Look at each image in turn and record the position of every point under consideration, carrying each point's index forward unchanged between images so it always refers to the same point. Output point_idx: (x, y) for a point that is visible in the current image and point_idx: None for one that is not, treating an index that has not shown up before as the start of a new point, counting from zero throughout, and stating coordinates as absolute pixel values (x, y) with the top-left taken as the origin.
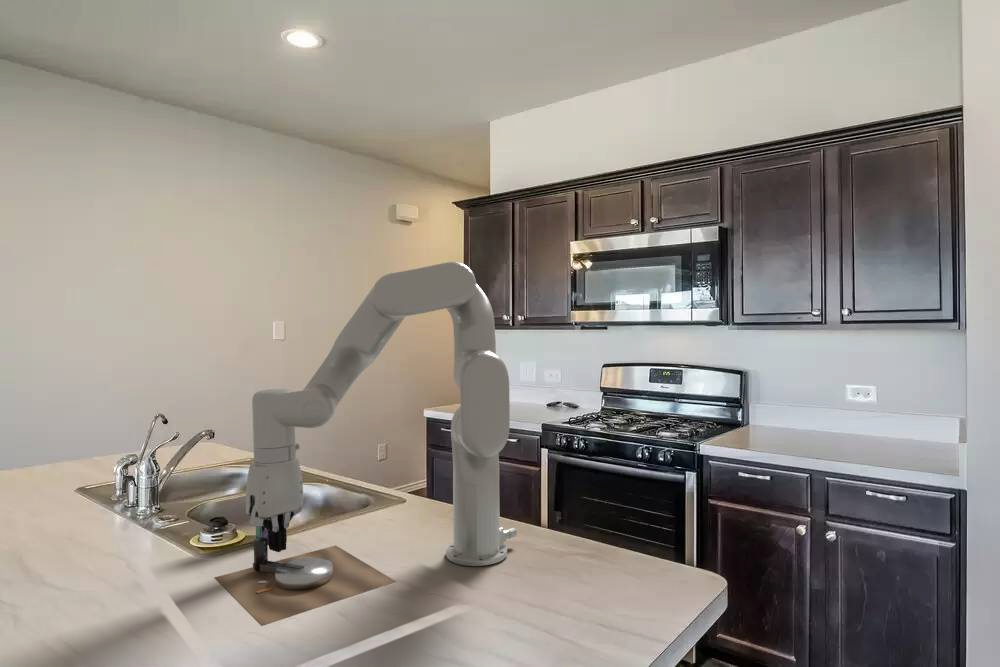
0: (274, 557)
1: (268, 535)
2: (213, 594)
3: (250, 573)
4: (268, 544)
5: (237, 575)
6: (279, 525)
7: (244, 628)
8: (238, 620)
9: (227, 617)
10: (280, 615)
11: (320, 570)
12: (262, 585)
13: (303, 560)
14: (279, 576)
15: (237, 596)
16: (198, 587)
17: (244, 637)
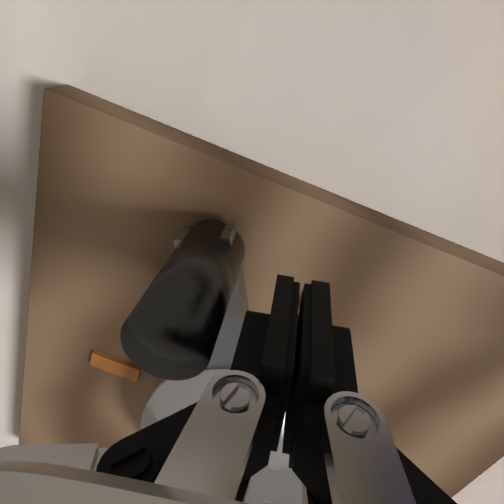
0: (490, 54)
1: (233, 361)
2: (33, 162)
3: (177, 214)
4: (245, 314)
5: (128, 178)
6: (296, 461)
7: (17, 395)
8: (22, 361)
9: (7, 329)
10: None
11: (257, 492)
12: None
13: None
14: (146, 420)
15: (39, 321)
16: (9, 25)
17: (2, 416)
